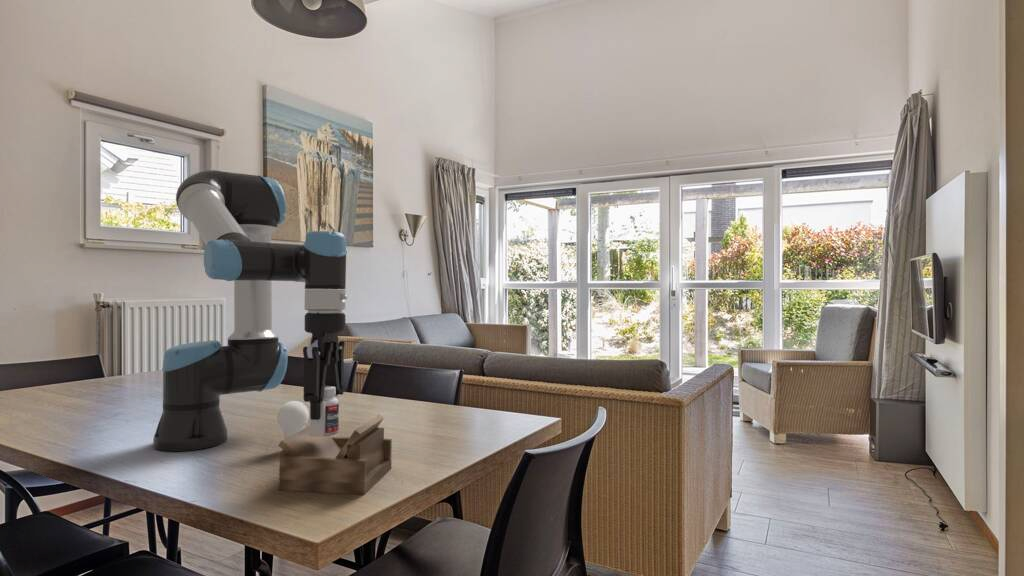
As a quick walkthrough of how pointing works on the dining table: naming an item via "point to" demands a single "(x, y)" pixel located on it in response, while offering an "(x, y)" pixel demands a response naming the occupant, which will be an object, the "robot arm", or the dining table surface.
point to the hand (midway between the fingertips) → (324, 431)
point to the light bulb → (292, 417)
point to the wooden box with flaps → (335, 460)
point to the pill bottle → (331, 411)
